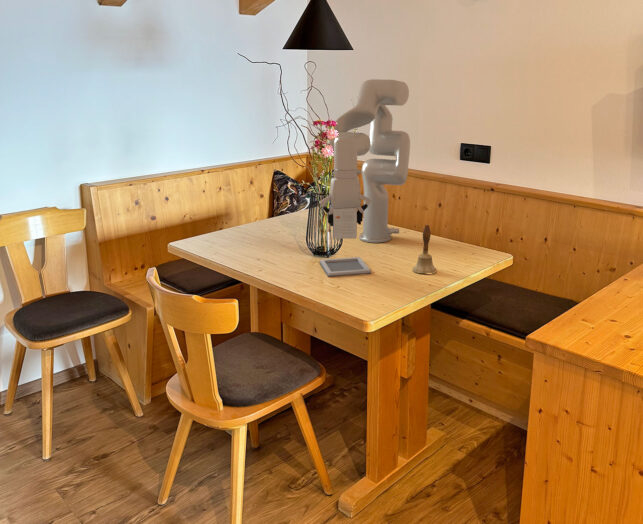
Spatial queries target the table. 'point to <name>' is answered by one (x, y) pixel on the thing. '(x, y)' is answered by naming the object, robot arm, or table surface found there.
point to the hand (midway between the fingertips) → (345, 224)
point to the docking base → (344, 266)
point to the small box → (345, 223)
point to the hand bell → (425, 255)
